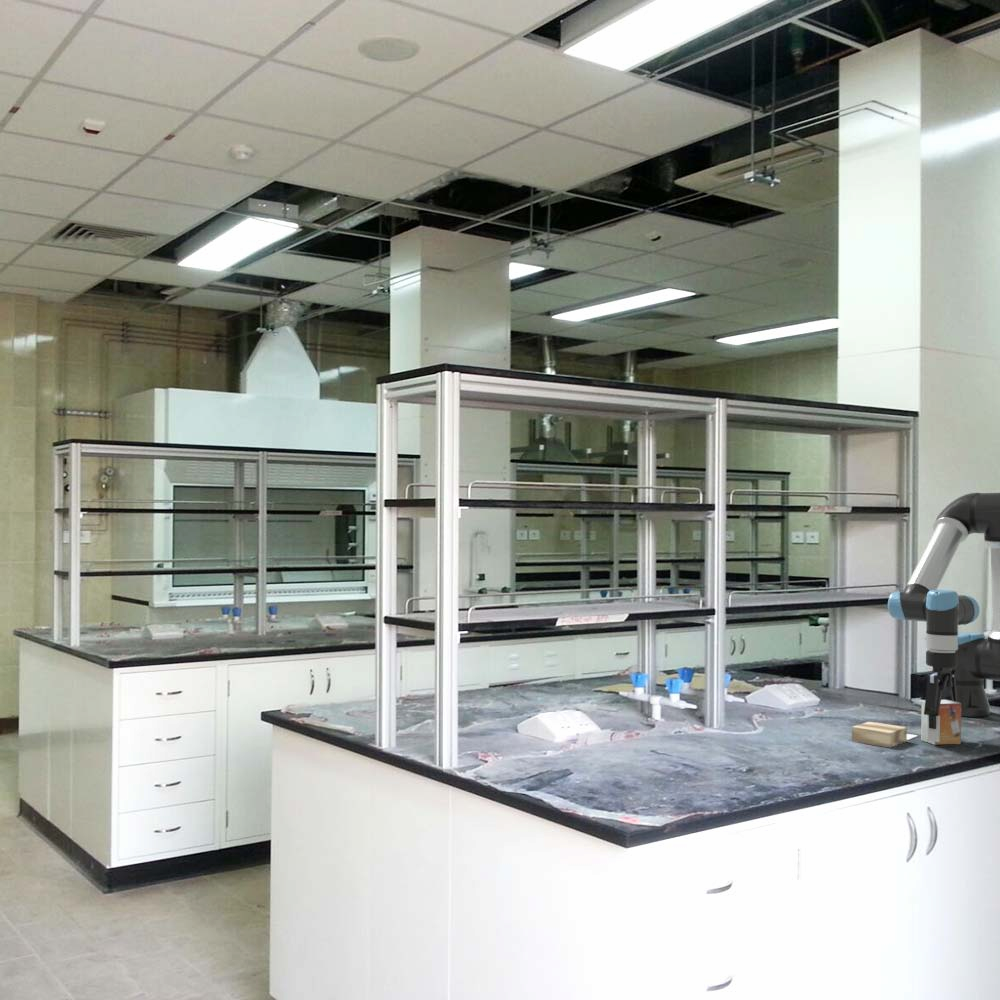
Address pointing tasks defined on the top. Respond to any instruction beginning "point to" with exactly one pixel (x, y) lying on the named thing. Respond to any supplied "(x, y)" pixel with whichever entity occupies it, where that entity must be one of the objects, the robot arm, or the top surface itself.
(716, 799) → the top surface
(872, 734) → the base block
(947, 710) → the small box
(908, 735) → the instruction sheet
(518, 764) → the top surface
